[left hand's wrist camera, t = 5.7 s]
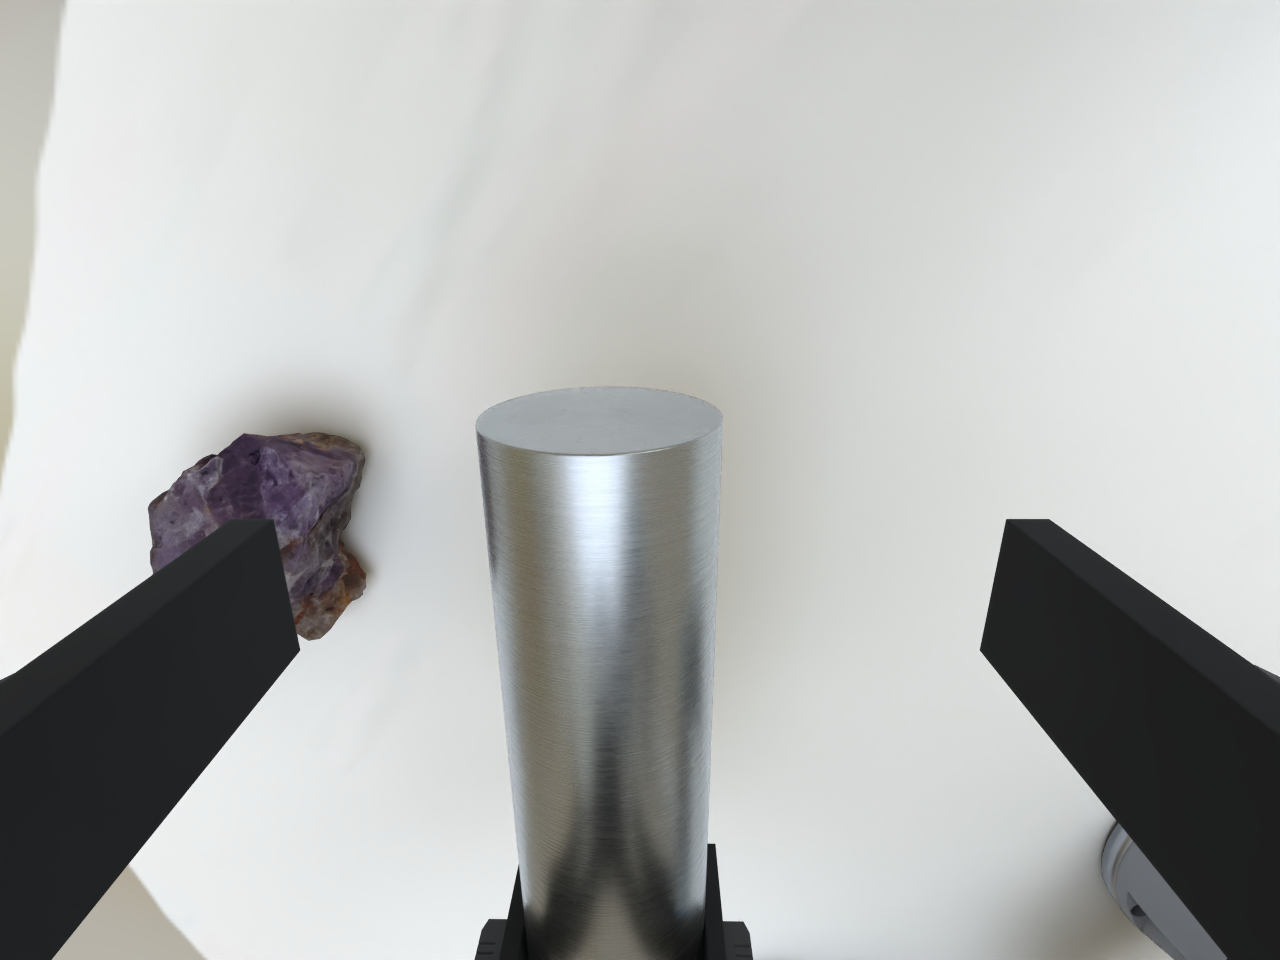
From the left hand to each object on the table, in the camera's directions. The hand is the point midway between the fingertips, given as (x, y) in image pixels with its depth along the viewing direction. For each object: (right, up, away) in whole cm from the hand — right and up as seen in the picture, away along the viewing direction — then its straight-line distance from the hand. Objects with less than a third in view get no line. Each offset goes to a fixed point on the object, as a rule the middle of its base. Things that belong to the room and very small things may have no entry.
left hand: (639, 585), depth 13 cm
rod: (-1, -7, +18) cm, 19 cm away
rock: (-20, 0, +28) cm, 35 cm away
